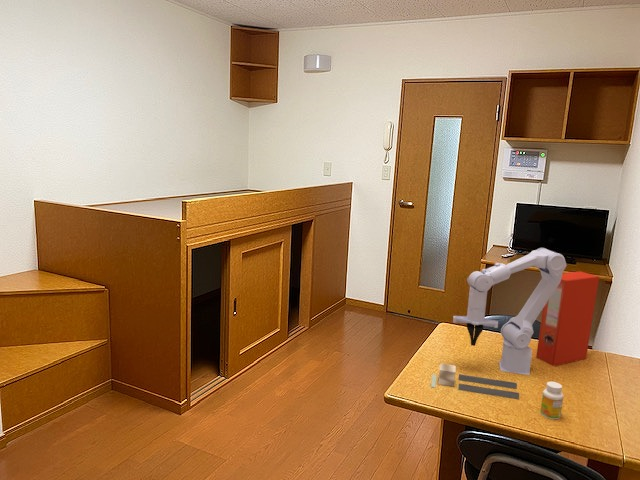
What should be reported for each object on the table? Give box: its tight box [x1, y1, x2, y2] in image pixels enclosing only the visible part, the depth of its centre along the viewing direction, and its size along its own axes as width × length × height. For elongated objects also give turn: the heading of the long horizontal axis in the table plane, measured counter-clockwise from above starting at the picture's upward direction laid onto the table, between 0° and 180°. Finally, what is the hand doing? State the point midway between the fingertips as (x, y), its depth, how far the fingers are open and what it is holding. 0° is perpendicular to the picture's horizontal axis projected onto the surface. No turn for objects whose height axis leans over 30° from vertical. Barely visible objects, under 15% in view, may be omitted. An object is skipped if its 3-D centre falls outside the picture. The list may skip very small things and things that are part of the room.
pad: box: [430, 373, 437, 389], centre depth 160 cm, size 8×9×1 cm
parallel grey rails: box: [457, 373, 520, 400], centre depth 156 cm, size 18×8×2 cm, turn 74°
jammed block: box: [438, 363, 457, 387], centre depth 159 cm, size 5×5×5 cm
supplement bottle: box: [540, 381, 564, 420], centre depth 142 cm, size 5×5×10 cm
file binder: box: [535, 270, 600, 367], centre depth 179 cm, size 8×17×32 cm, turn 115°
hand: (472, 344), depth 168 cm, fingers closed
